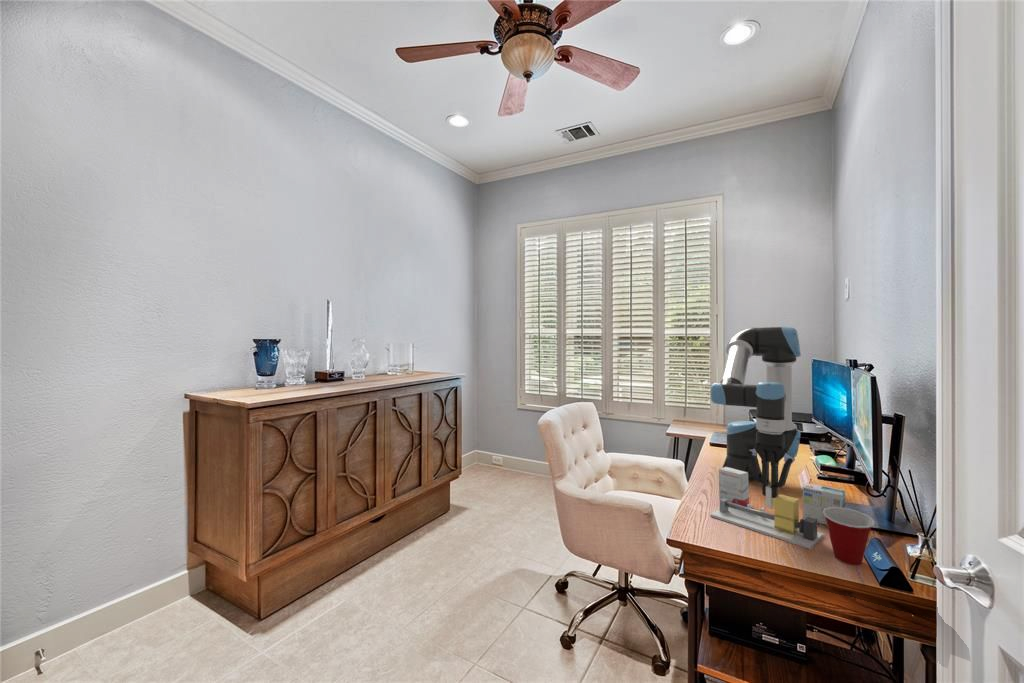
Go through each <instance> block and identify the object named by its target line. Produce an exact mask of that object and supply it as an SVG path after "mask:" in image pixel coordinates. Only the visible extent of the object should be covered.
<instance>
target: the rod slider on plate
mask: <svg viewBox="0 0 1024 683" xmlns="http://www.w3.org/2000/svg"><path fill="white" fill-rule="evenodd" d="M711 516H712V517H711ZM710 517H711V518H714V519H717V518H718V519H717V520H721V521H724V522H727V523H729V524H732V525H736V526H739V527H742V528H744V529H748V530H751V531H755V532H757V533H761V534H763V535H766V536H769V537H773V538H775V539H779V540H782V541H785V542H787V543H791V544H793V545H798V546H800V547H803V548H806V549H809V550H812V549H813V548H814V546H816V545H817V544H818V543H819V542H820V540H822V538H823V537H824V533H822V532H819V531H818V523H817V519H814V518H810V517H807V518H806V519H803V518H800V519H799V522H796V521H795V527H797V528H799V530H797V531H796V532H795V533H794V534H792V533H789V532H786V531H782V530H779V529H776V528H774V514H772V513H768V512H765V507H761V508H760V509H759V510H758V509H755V508H752V504H751V503H749V504H747V506H746V507H745V506H741V505H738V504H734V503H731V502H728V499H725V498H723V499H721V500H719V508H718V509H717V510H715V511H713V512H711V513H710Z"/></svg>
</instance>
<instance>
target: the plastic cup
mask: <svg viewBox="0 0 1024 683" xmlns="http://www.w3.org/2000/svg"><path fill="white" fill-rule="evenodd" d="M823 514H824V516H825V518H826V521H827V524H828V525H827V530H828V534H829V539H830V544H831V548H832V553H833V556H834V558H835V559H836V560H838V561H840V562H842V563H845V564H848V565H853V566H854V565H855V566H857V565H858V566H859V565H861V564H862V562H863V559H864V556H865V552H866V549H867V544H868V540H869V536H870V532H871V530H872V527H874V525H875V520H874V519H873V517H871V516H869V515H868V514H866V513H863V512H862V511H858V510H856V509H851V508H846V507H845V508H840V507H828V508H825V509H824V510H823Z"/></svg>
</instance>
